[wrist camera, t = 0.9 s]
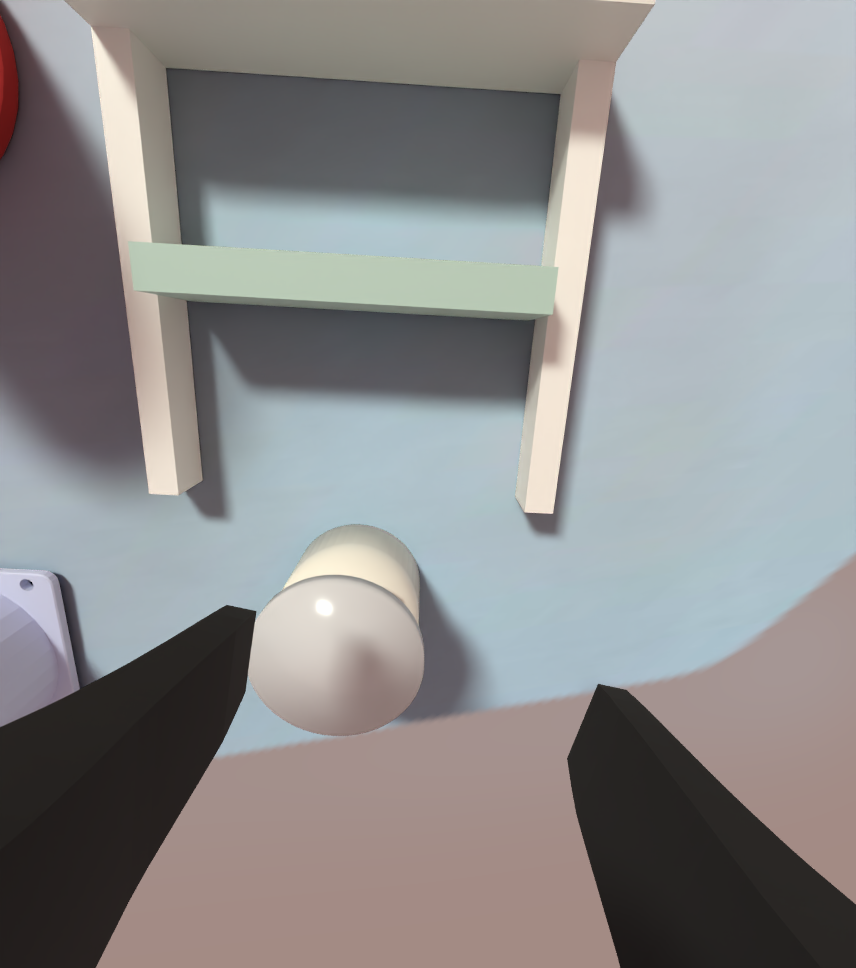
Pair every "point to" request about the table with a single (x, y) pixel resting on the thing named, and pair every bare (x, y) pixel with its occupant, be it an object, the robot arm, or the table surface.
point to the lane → (362, 57)
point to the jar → (342, 635)
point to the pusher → (343, 281)
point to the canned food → (7, 89)
